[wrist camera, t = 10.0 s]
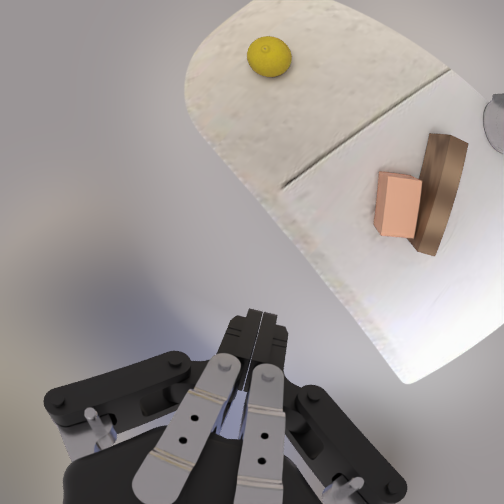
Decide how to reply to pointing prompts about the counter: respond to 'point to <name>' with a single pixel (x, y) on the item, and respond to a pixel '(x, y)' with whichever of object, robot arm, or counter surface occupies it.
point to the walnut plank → (438, 190)
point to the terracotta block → (397, 204)
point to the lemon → (269, 56)
